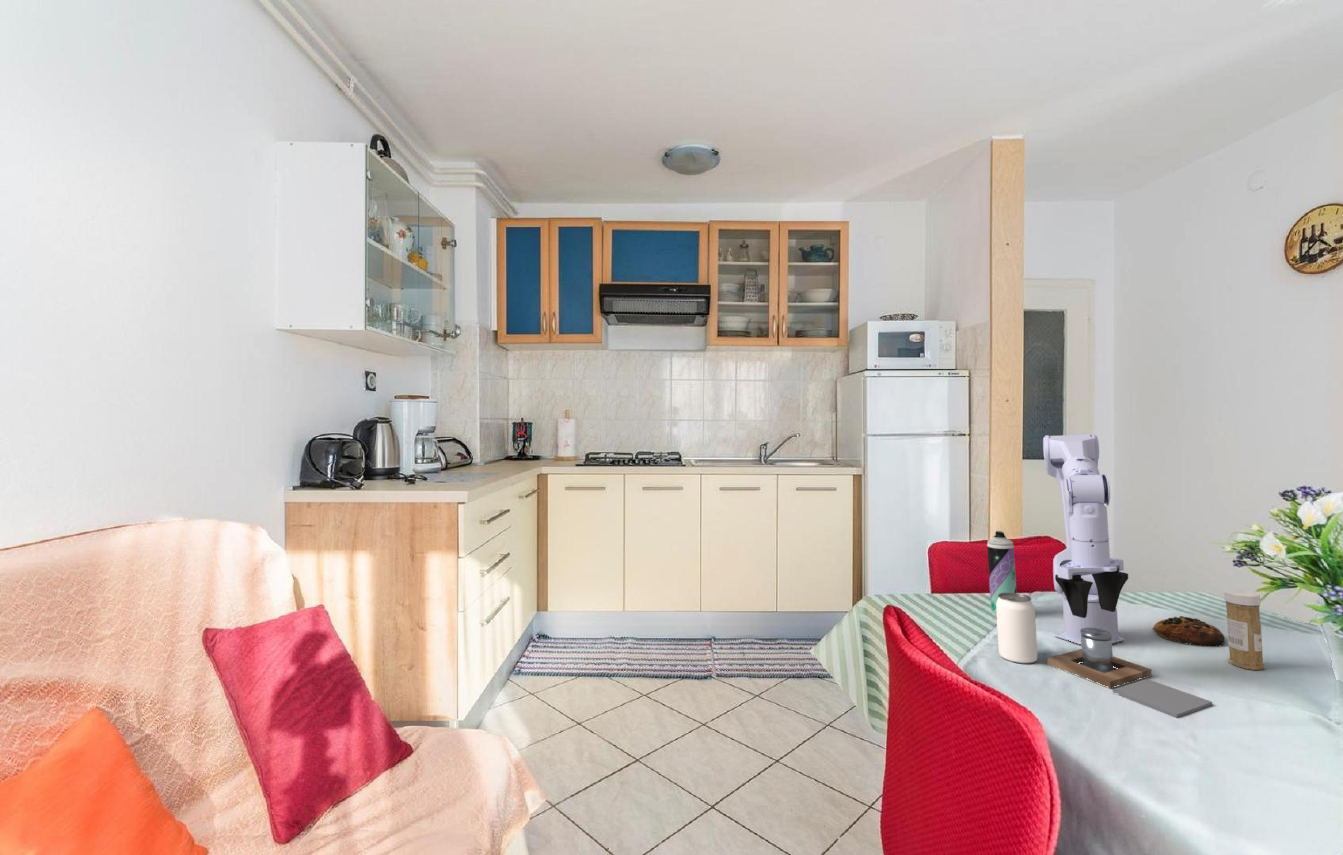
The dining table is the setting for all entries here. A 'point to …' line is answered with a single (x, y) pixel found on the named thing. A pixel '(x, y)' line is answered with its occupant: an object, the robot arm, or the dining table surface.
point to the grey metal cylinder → (1097, 649)
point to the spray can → (1000, 568)
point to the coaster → (1162, 697)
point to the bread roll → (1189, 631)
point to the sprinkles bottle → (1244, 628)
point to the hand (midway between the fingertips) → (1093, 613)
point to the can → (1016, 628)
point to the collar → (1113, 678)
